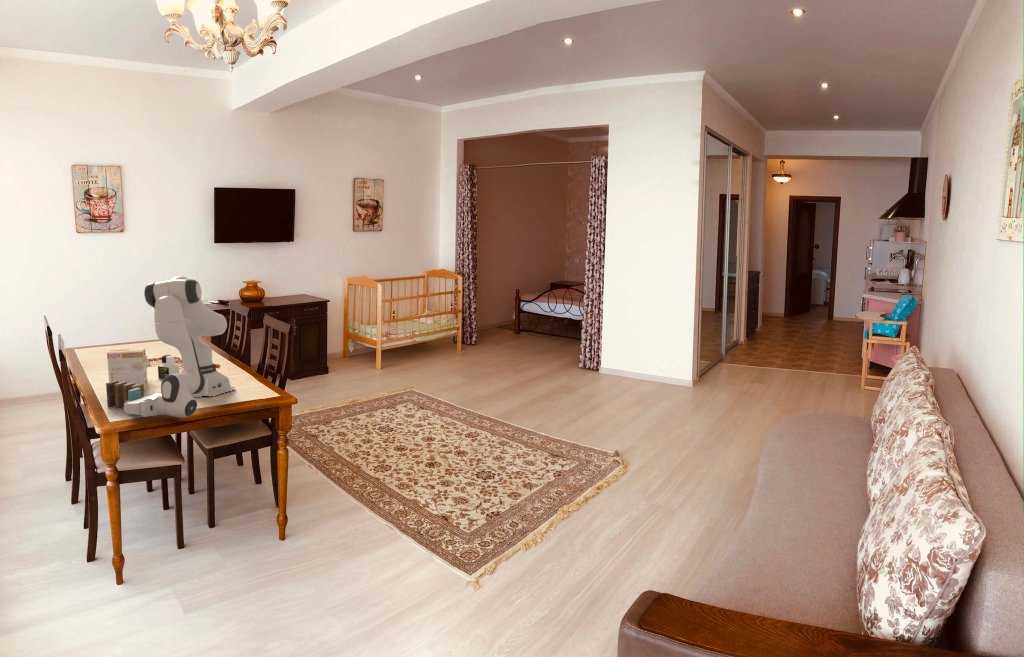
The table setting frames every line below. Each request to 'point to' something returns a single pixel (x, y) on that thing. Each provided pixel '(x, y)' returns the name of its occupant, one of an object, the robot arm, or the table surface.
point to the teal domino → (134, 395)
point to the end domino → (111, 393)
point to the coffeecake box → (128, 366)
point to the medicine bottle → (167, 366)
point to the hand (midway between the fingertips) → (133, 400)
